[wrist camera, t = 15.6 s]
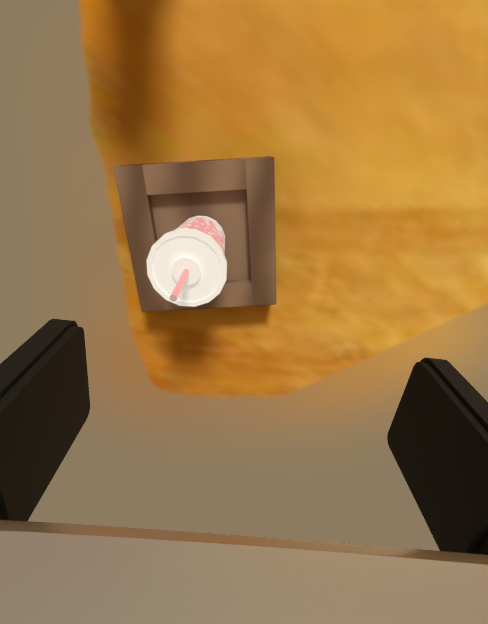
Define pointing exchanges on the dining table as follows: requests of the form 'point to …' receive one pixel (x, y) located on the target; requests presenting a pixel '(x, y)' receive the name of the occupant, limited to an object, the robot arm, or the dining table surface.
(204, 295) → the beverage cup
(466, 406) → the robot arm
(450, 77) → the dining table surface
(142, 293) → the walnut tray
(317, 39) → the dining table surface
